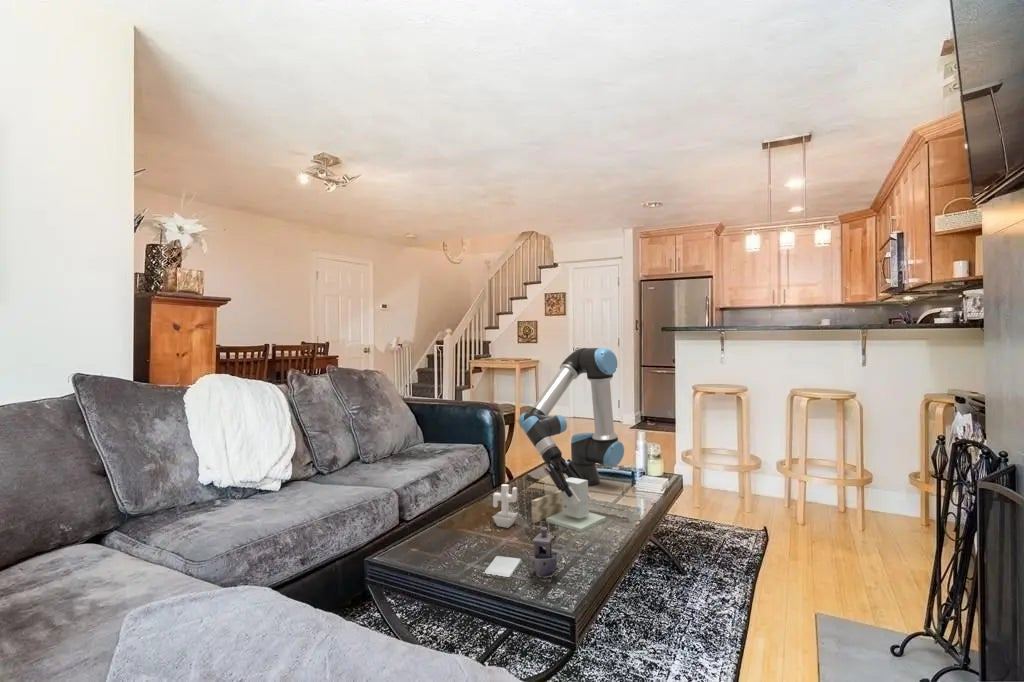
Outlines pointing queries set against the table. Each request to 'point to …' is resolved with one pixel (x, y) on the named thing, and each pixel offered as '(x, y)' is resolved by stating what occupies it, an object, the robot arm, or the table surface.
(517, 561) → the hard drive
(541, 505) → the wooden screen
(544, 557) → the toy boat
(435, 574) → the table surface
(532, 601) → the table surface
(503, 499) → the figurine
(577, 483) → the small box
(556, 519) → the display plate
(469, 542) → the table surface
